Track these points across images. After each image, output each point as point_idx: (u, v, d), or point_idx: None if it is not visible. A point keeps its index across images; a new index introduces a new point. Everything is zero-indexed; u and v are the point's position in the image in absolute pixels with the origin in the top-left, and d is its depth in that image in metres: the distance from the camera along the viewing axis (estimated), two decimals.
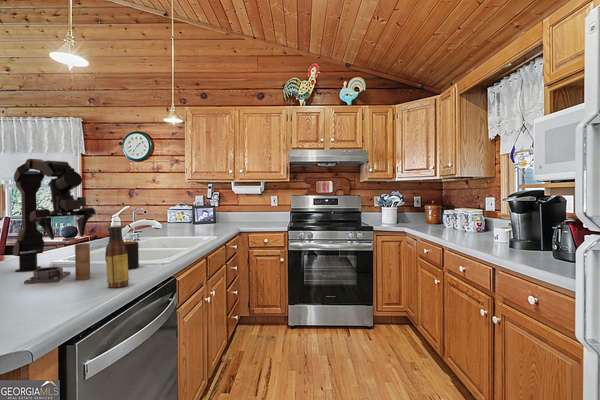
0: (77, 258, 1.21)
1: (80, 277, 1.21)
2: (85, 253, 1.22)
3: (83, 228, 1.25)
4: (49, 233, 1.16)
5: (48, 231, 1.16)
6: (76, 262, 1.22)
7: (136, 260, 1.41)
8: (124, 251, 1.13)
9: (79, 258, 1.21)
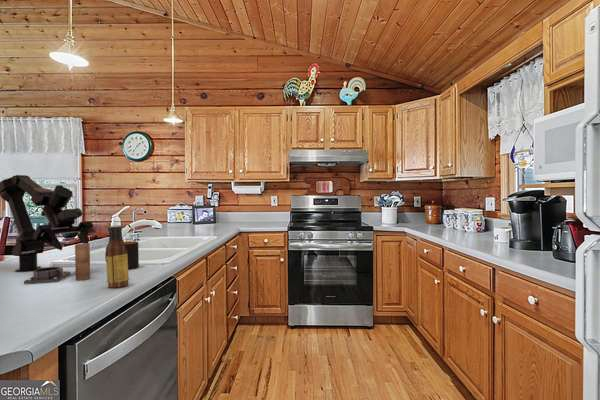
0: (77, 258, 1.21)
1: (80, 277, 1.21)
2: (85, 253, 1.22)
3: (86, 238, 1.30)
4: (56, 244, 1.21)
5: (55, 243, 1.21)
6: (76, 262, 1.22)
7: (136, 260, 1.41)
8: (124, 251, 1.13)
9: (79, 258, 1.21)
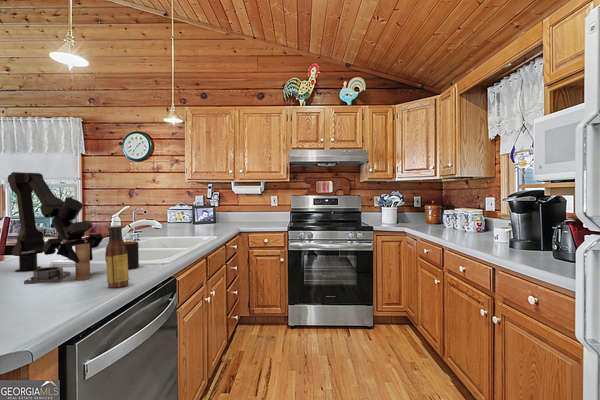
0: None
1: (80, 277, 1.21)
2: (85, 253, 1.22)
3: (90, 252, 1.26)
4: (73, 257, 1.21)
5: (72, 256, 1.21)
6: None
7: (136, 260, 1.41)
8: (124, 251, 1.13)
9: (79, 258, 1.21)
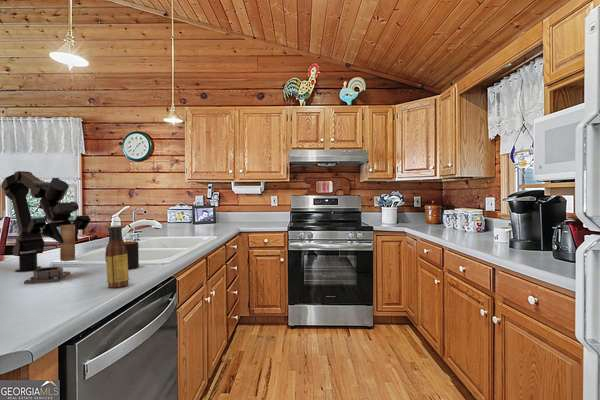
0: None
1: (64, 257, 1.21)
2: (69, 234, 1.22)
3: (76, 233, 1.25)
4: (57, 238, 1.20)
5: (56, 236, 1.20)
6: None
7: (136, 260, 1.41)
8: (124, 251, 1.13)
9: (63, 239, 1.21)
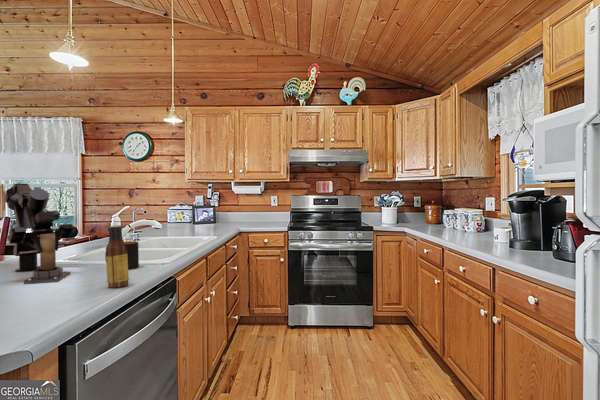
0: None
1: (44, 266, 1.22)
2: (48, 243, 1.22)
3: (57, 242, 1.26)
4: (37, 247, 1.21)
5: (36, 245, 1.21)
6: None
7: (136, 260, 1.41)
8: (124, 251, 1.13)
9: (42, 248, 1.22)
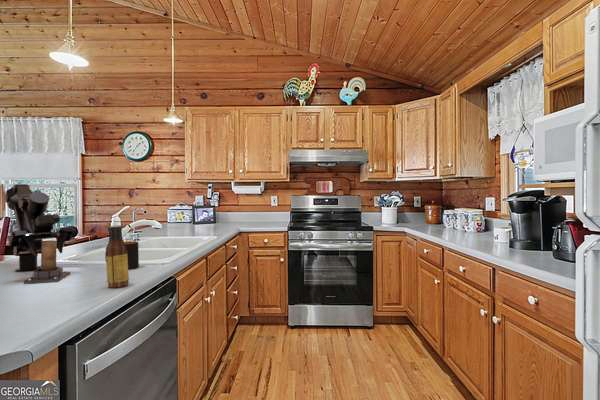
0: (42, 255, 1.22)
1: None
2: (50, 250, 1.22)
3: (61, 245, 1.27)
4: (32, 250, 1.20)
5: (31, 249, 1.20)
6: (41, 259, 1.22)
7: (136, 260, 1.41)
8: (124, 251, 1.13)
9: (43, 255, 1.22)
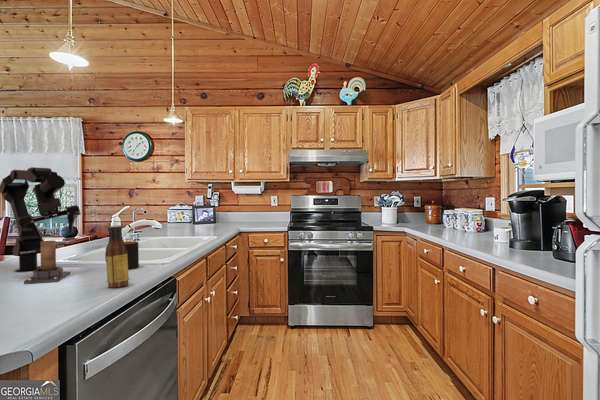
0: (41, 255, 1.22)
1: None
2: (49, 250, 1.22)
3: (70, 226, 1.31)
4: (37, 236, 1.26)
5: (36, 234, 1.26)
6: (41, 259, 1.22)
7: (136, 260, 1.41)
8: (124, 251, 1.13)
9: (43, 255, 1.22)
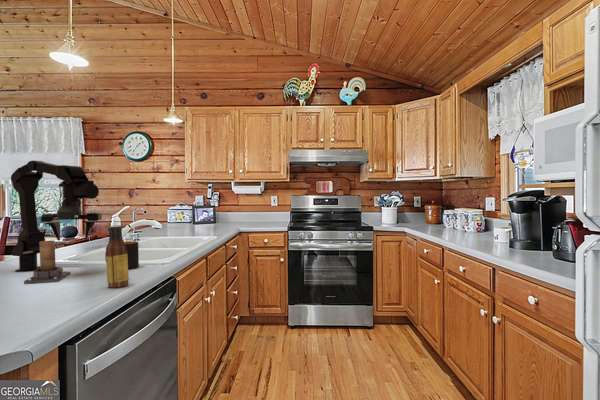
0: (41, 255, 1.22)
1: None
2: (48, 250, 1.22)
3: (86, 232, 1.32)
4: None
5: None
6: (40, 259, 1.22)
7: (136, 260, 1.41)
8: (124, 251, 1.13)
9: (42, 255, 1.22)
